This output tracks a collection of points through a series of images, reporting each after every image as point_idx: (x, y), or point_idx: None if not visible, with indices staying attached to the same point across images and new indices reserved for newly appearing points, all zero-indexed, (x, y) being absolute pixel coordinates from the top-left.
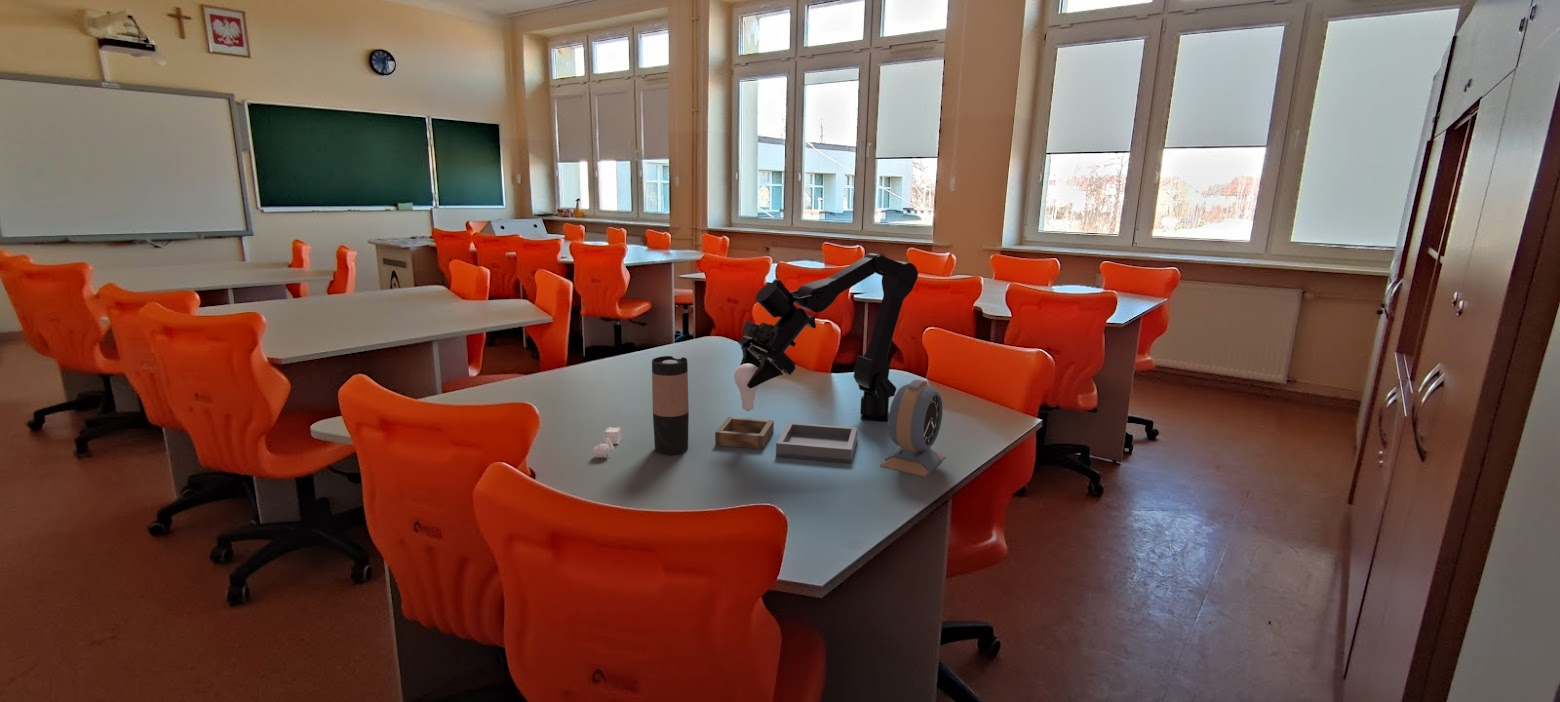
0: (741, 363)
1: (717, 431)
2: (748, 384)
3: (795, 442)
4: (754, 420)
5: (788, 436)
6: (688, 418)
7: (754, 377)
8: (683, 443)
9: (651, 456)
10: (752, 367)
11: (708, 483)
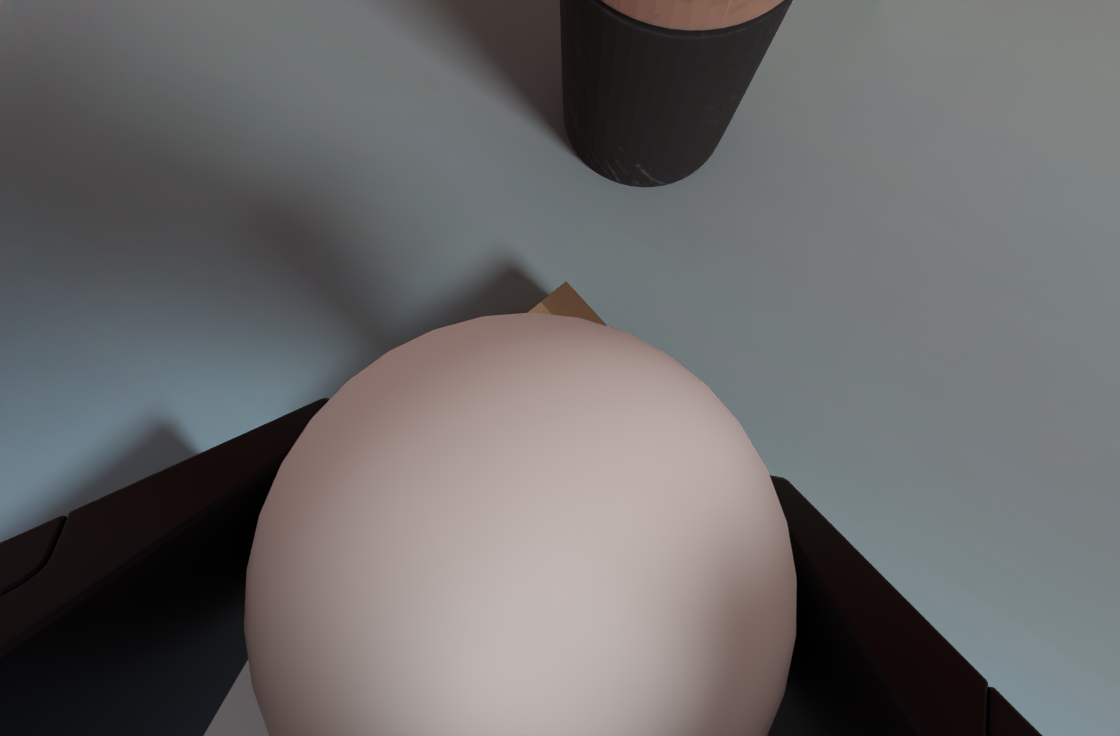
0: (1000, 728)
1: (568, 298)
2: (312, 405)
3: (248, 696)
4: None
5: None
6: (608, 52)
7: (165, 472)
8: (565, 102)
9: None
10: (301, 611)
11: (204, 55)
